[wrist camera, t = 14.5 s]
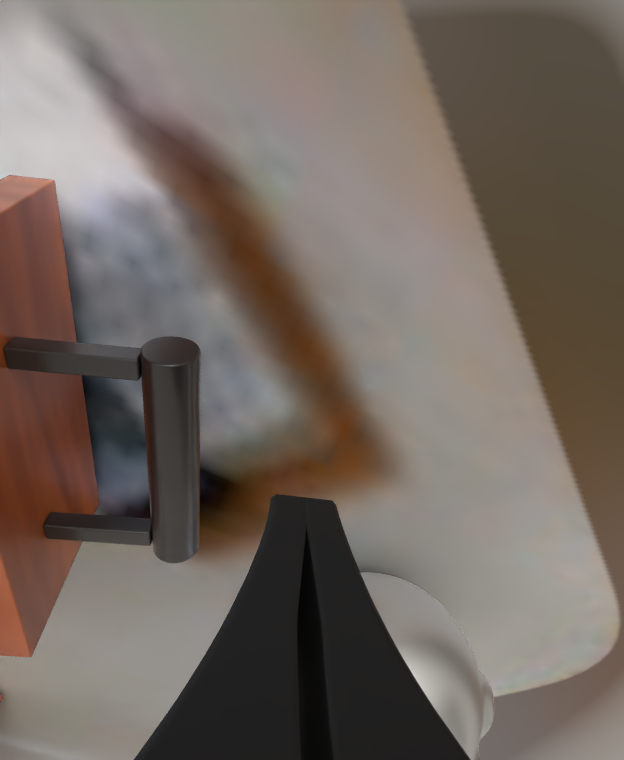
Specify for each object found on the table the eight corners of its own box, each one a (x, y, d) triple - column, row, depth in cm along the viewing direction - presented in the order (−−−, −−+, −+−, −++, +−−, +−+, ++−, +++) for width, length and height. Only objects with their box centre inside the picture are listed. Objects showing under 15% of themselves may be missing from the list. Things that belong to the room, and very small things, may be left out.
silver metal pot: (309, 664, 29) (311, 922, 21) (238, 556, 24) (201, 837, 16) (476, 630, 27) (551, 895, 19) (435, 506, 22) (513, 790, 14)
